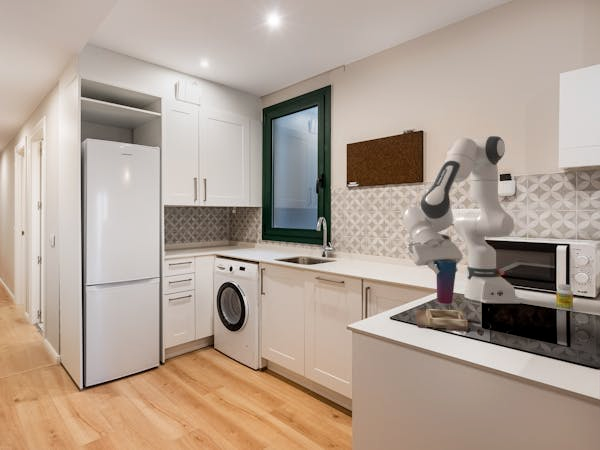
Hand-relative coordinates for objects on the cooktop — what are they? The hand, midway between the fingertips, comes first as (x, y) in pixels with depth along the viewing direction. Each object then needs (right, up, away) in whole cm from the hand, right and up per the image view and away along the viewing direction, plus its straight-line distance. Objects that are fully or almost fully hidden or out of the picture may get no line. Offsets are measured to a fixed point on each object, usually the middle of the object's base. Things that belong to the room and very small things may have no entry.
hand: (447, 272), depth 124 cm
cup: (0, -11, +2) cm, 11 cm away
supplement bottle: (+55, -17, +17) cm, 60 cm away
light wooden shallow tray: (-1, -18, +4) cm, 19 cm away
